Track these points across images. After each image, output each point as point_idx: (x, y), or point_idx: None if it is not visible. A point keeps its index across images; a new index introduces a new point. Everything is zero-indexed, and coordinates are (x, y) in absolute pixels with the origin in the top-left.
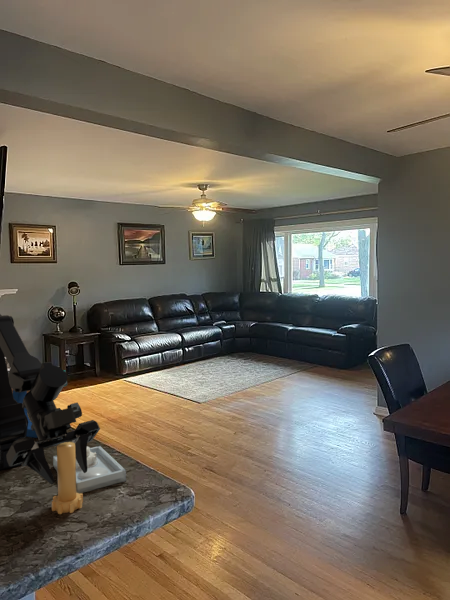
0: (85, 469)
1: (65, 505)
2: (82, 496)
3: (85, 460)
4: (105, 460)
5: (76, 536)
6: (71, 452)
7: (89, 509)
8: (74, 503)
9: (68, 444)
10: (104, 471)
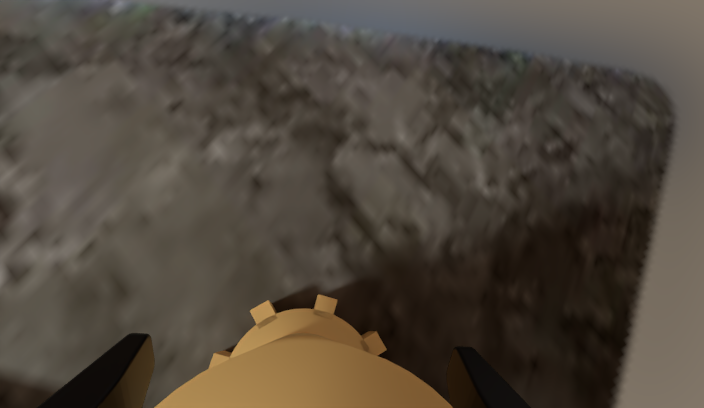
0: (144, 339)
1: (350, 325)
2: (218, 353)
3: (65, 400)
4: None
5: (415, 119)
6: (294, 340)
7: (248, 259)
8: (303, 308)
9: None
10: None
